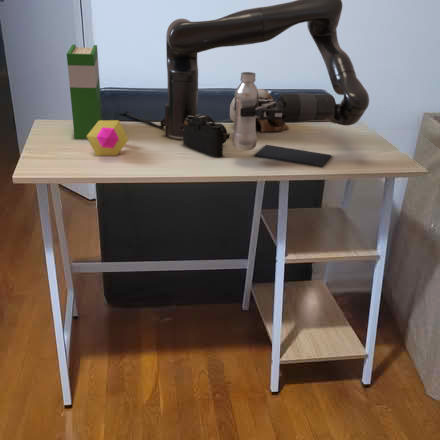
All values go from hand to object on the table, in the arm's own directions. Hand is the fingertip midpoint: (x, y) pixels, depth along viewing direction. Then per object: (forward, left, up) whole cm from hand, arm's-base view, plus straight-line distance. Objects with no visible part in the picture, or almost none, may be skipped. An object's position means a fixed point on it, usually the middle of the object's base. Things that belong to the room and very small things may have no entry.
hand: (237, 109), depth 149 cm
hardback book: (-52, +6, -15) cm, 54 cm away
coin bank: (-6, +38, -15) cm, 42 cm away
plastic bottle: (+2, +1, -11) cm, 11 cm away
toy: (-35, -10, -15) cm, 39 cm away
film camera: (-12, +8, -15) cm, 21 cm away
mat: (+13, +14, -15) cm, 24 cm away
